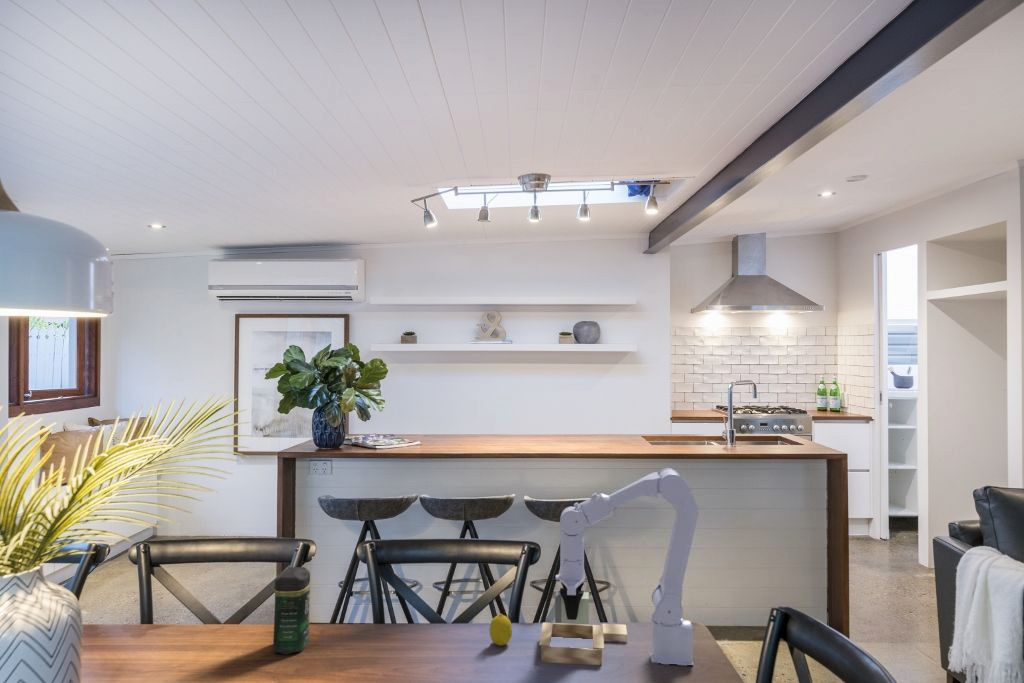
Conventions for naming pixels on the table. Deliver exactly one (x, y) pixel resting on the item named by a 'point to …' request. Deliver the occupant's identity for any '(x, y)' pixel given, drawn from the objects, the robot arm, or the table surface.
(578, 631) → the wooden tray
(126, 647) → the table surface
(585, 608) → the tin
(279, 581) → the coffee jar
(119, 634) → the table surface
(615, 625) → the oak stand
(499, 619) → the lemon
